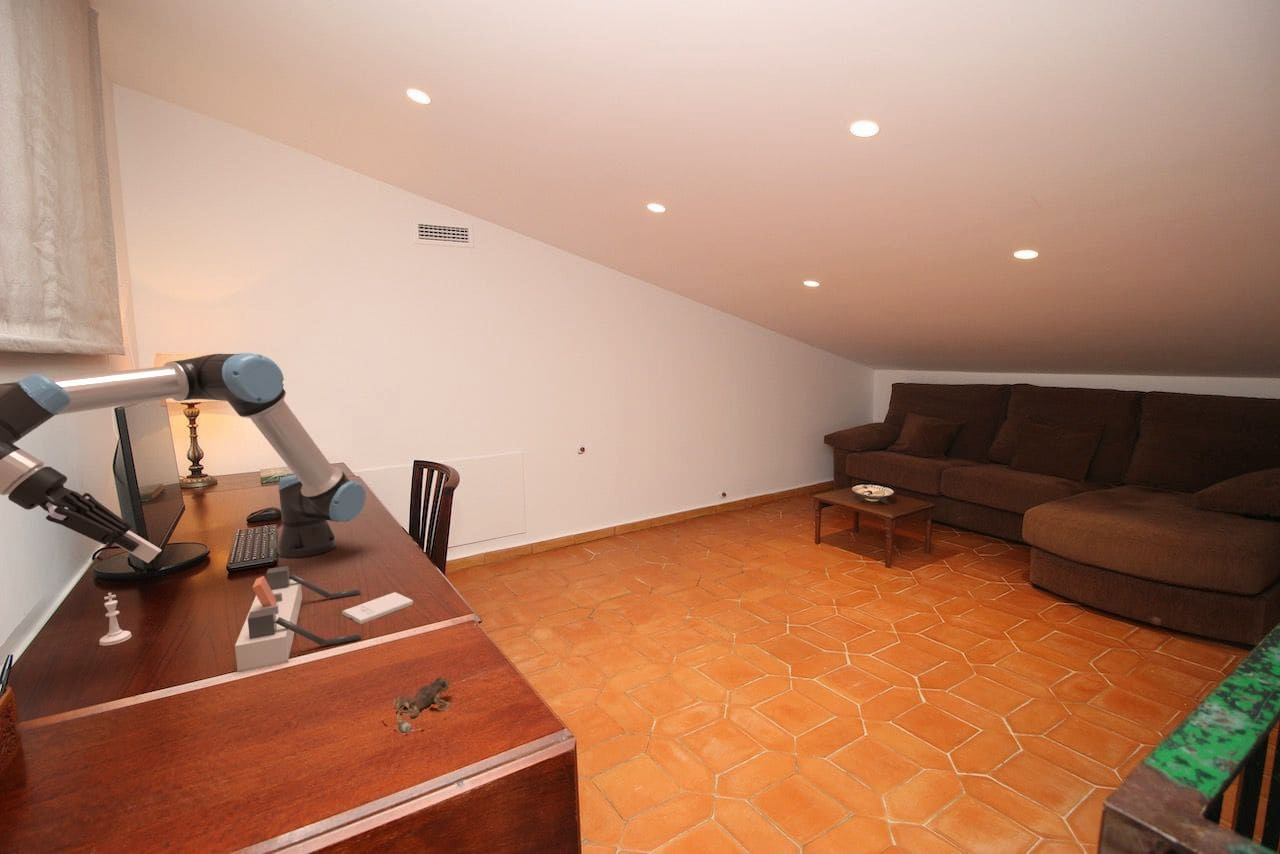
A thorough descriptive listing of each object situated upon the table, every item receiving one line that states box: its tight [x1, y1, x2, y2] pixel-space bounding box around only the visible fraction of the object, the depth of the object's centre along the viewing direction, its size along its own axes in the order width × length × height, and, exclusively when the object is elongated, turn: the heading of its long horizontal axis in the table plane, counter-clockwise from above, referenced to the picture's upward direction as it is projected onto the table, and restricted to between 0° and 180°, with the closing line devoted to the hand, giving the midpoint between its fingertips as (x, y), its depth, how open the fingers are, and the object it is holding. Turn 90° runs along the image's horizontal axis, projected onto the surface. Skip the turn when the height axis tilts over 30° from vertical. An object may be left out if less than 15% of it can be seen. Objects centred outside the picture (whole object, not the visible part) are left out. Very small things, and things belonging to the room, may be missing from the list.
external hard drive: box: [341, 591, 414, 625], centre depth 132 cm, size 2×8×12 cm
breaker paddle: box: [251, 575, 276, 607], centre depth 121 cm, size 2×5×6 cm, turn 25°
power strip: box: [234, 565, 362, 672], centre depth 125 cm, size 21×32×9 cm, turn 26°
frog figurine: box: [381, 677, 452, 733], centre depth 95 cm, size 12×12×4 cm
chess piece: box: [99, 592, 132, 646], centre depth 118 cm, size 5×5×10 cm
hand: (155, 556), depth 112 cm, fingers closed
